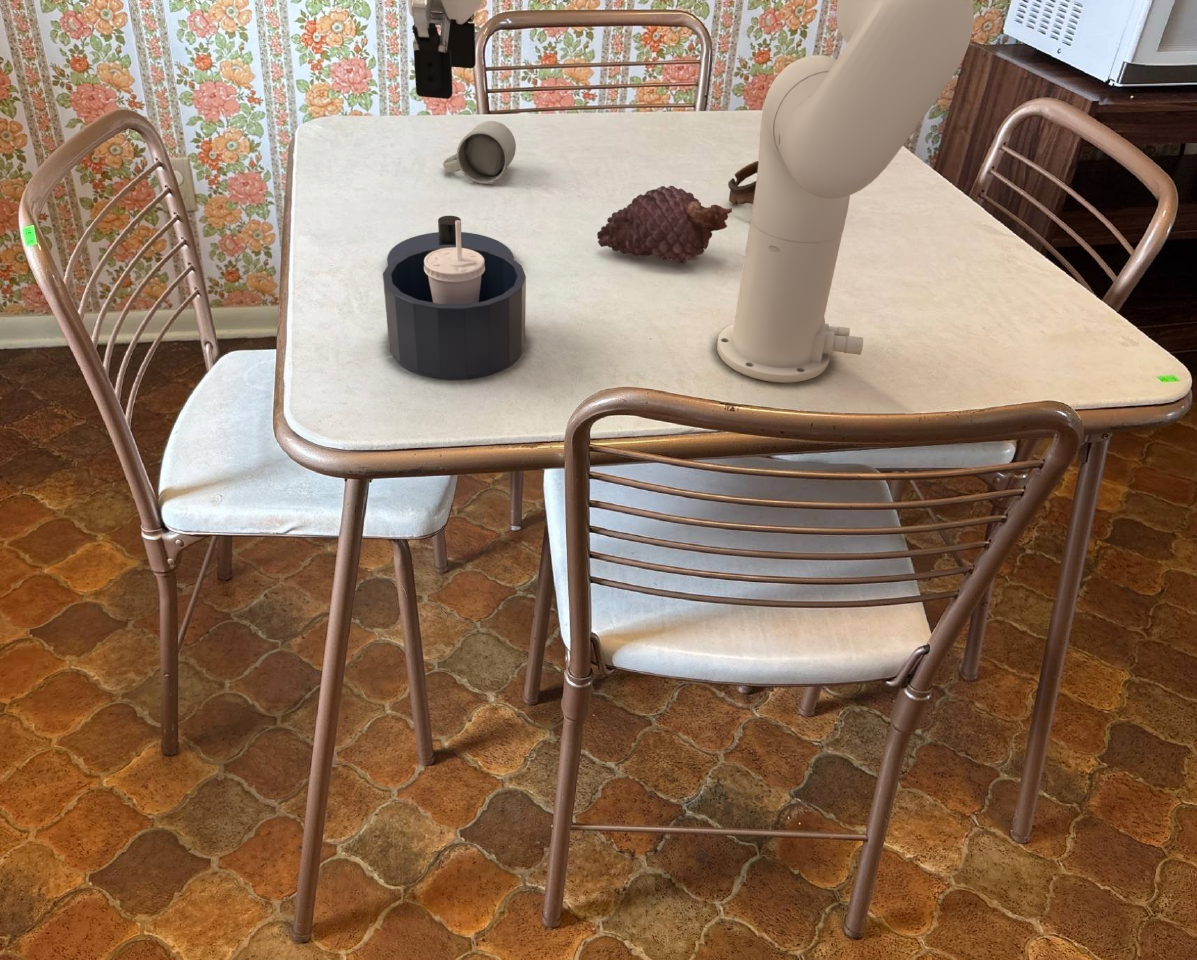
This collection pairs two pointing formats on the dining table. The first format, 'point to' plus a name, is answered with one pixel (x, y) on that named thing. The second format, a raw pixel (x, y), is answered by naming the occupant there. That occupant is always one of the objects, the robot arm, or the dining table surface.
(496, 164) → the ceramic mug
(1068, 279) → the dining table surface
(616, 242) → the pine cone
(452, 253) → the smoothie
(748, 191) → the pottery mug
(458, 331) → the pot
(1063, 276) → the dining table surface
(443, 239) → the pot lid
